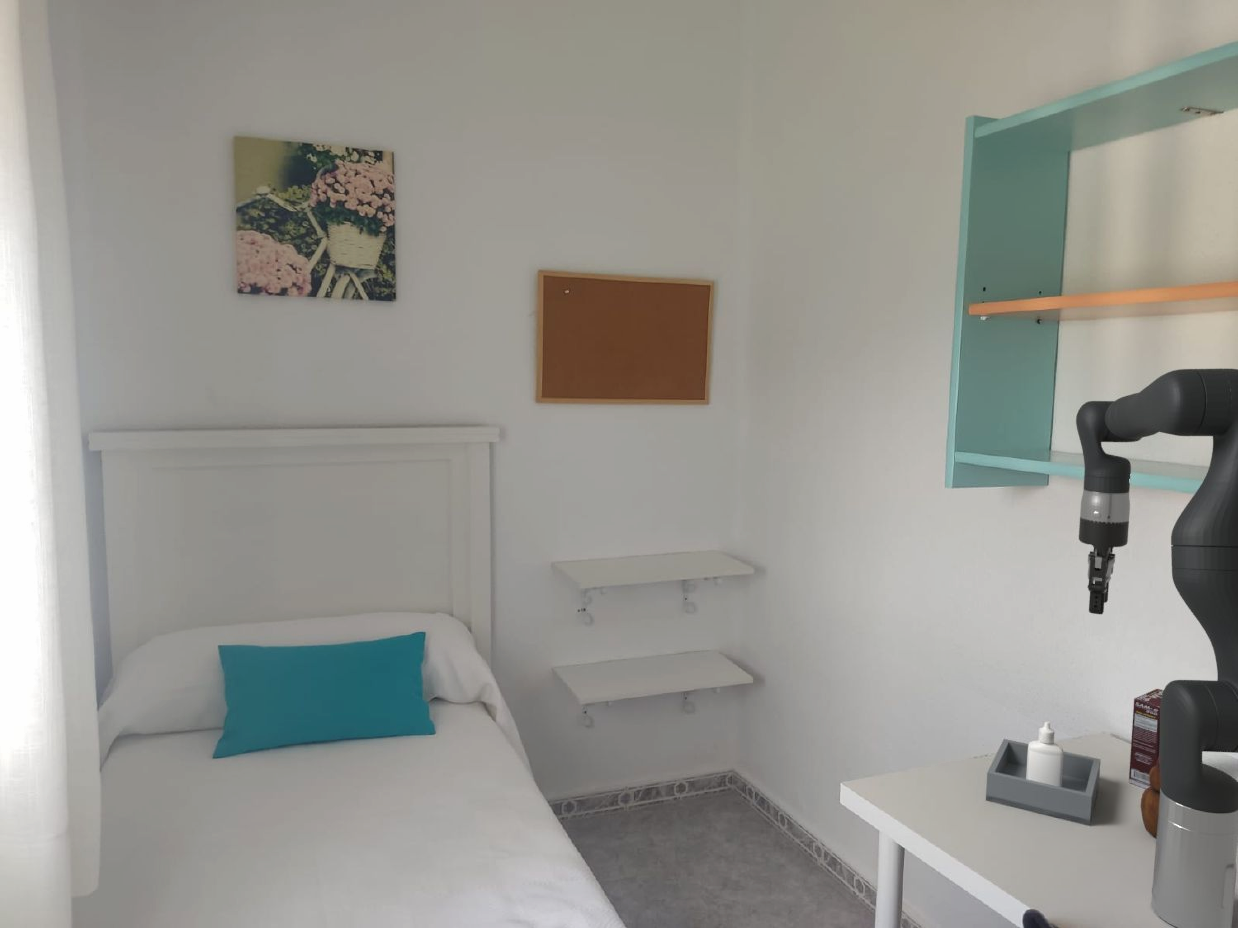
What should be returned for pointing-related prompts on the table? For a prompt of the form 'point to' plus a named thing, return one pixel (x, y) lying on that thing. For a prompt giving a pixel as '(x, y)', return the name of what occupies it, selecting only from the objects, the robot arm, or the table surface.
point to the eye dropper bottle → (1045, 758)
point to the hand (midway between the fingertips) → (1098, 607)
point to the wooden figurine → (1151, 801)
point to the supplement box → (1145, 737)
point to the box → (1042, 798)
